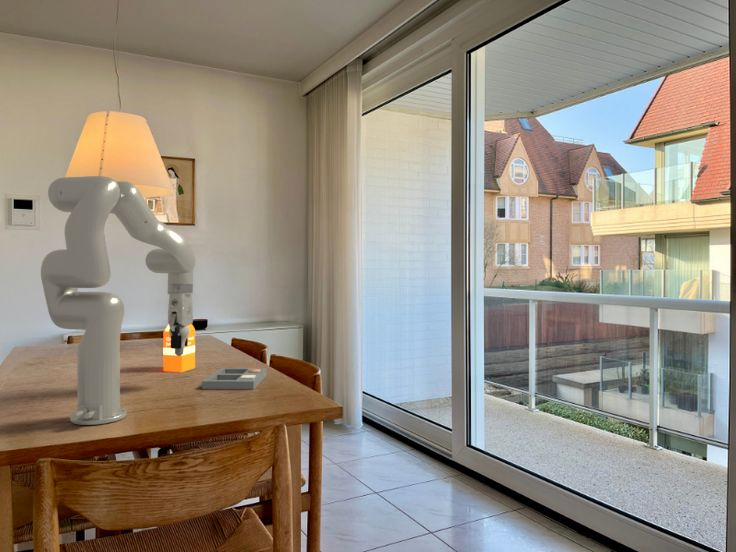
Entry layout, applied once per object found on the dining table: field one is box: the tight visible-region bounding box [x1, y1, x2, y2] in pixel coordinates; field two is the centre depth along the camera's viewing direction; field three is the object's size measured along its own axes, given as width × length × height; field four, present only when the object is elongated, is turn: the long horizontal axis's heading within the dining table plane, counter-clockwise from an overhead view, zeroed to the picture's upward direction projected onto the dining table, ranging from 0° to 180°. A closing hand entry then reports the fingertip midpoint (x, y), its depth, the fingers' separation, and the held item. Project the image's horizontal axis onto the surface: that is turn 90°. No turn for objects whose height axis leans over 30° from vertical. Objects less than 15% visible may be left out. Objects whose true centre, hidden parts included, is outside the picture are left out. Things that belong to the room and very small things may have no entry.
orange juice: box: [162, 323, 196, 373], centre depth 197 cm, size 8×9×20 cm
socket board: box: [201, 367, 268, 391], centre depth 177 cm, size 22×16×3 cm
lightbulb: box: [169, 324, 190, 356], centre depth 169 cm, size 6×6×11 cm
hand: (179, 346), depth 169 cm, fingers closed on lightbulb, 5 cm apart
